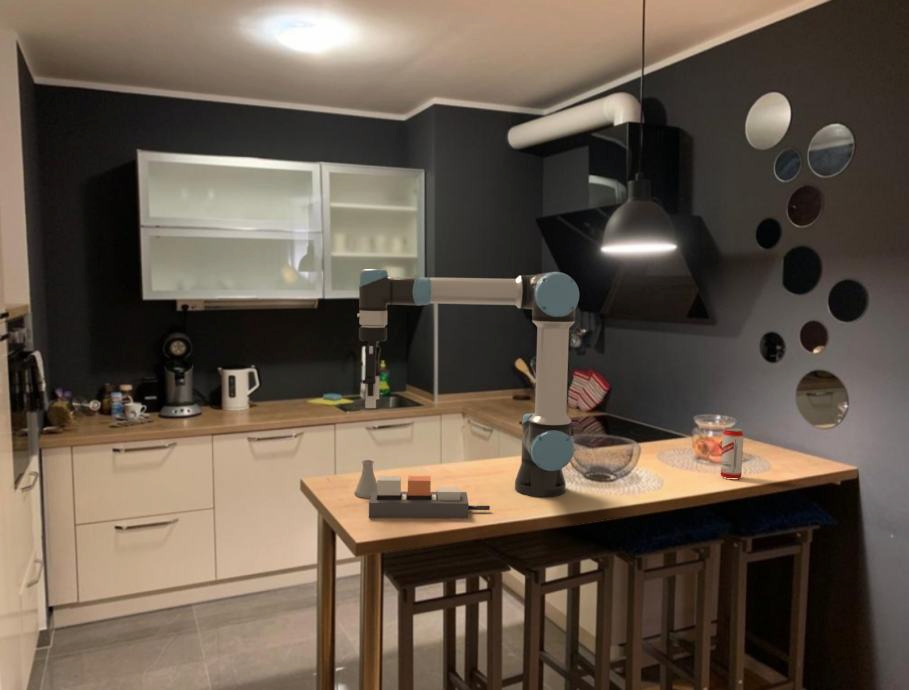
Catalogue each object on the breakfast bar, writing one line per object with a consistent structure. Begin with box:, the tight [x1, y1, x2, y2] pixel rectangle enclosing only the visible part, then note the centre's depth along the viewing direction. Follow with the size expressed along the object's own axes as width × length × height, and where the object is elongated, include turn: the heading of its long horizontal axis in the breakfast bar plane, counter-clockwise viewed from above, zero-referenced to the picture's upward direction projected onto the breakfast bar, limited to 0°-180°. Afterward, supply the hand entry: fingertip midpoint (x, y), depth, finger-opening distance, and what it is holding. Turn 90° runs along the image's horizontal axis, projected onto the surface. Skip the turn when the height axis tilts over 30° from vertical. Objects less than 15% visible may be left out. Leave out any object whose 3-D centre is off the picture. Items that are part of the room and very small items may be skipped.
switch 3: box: [437, 486, 462, 500], centre depth 192 cm, size 6×4×4 cm
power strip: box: [368, 491, 491, 519], centre depth 192 cm, size 32×10×4 cm, turn 92°
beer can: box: [720, 427, 744, 479], centre depth 230 cm, size 6×6×16 cm
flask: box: [353, 459, 377, 499], centre depth 206 cm, size 7×7×10 cm
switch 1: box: [376, 475, 402, 495], centre depth 191 cm, size 6×4×4 cm
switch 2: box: [407, 475, 431, 496], centre depth 191 cm, size 6×4×4 cm
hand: (372, 403), depth 196 cm, fingers open, 13 cm apart
